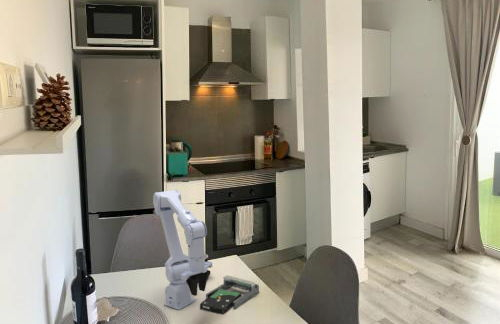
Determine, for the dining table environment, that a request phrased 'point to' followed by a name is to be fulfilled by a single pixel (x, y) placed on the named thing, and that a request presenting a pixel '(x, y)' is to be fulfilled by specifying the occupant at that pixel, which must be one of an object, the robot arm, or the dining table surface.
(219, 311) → the disk drive
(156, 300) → the dining table surface
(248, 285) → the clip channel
